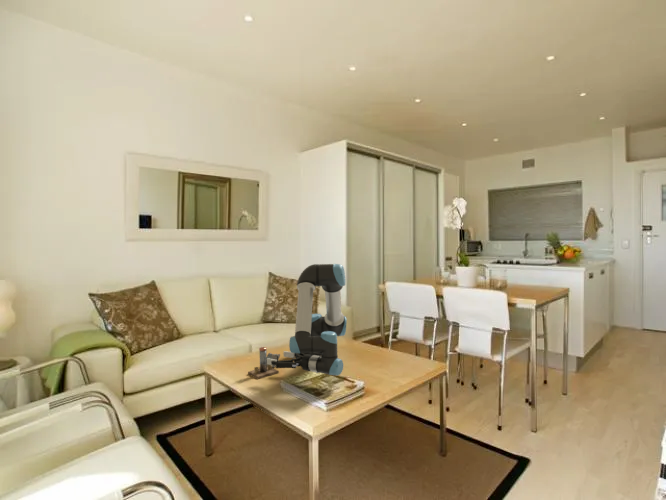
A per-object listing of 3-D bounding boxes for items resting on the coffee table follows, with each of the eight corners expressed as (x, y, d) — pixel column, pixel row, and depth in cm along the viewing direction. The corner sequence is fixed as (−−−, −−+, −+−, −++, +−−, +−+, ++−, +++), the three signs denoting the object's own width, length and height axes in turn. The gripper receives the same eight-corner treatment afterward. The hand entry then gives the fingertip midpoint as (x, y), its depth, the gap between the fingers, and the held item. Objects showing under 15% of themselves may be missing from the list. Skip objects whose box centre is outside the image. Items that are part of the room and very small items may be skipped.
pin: (264, 369, 196) (264, 346, 195) (268, 371, 193) (267, 348, 193) (258, 371, 193) (258, 348, 193) (262, 372, 191) (261, 349, 190)
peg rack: (268, 368, 201) (267, 361, 201) (278, 373, 194) (278, 365, 193) (248, 374, 193) (247, 366, 193) (258, 379, 185) (258, 371, 185)
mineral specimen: (267, 374, 206) (284, 370, 204) (261, 368, 200) (278, 363, 199) (268, 358, 213) (284, 354, 211) (261, 352, 207) (278, 347, 205)
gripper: (297, 379, 168) (260, 372, 178) (324, 363, 190) (290, 357, 200) (297, 362, 168) (259, 356, 178) (324, 348, 190) (290, 343, 200)
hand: (275, 357), depth 189 cm, fingers open, 13 cm apart
